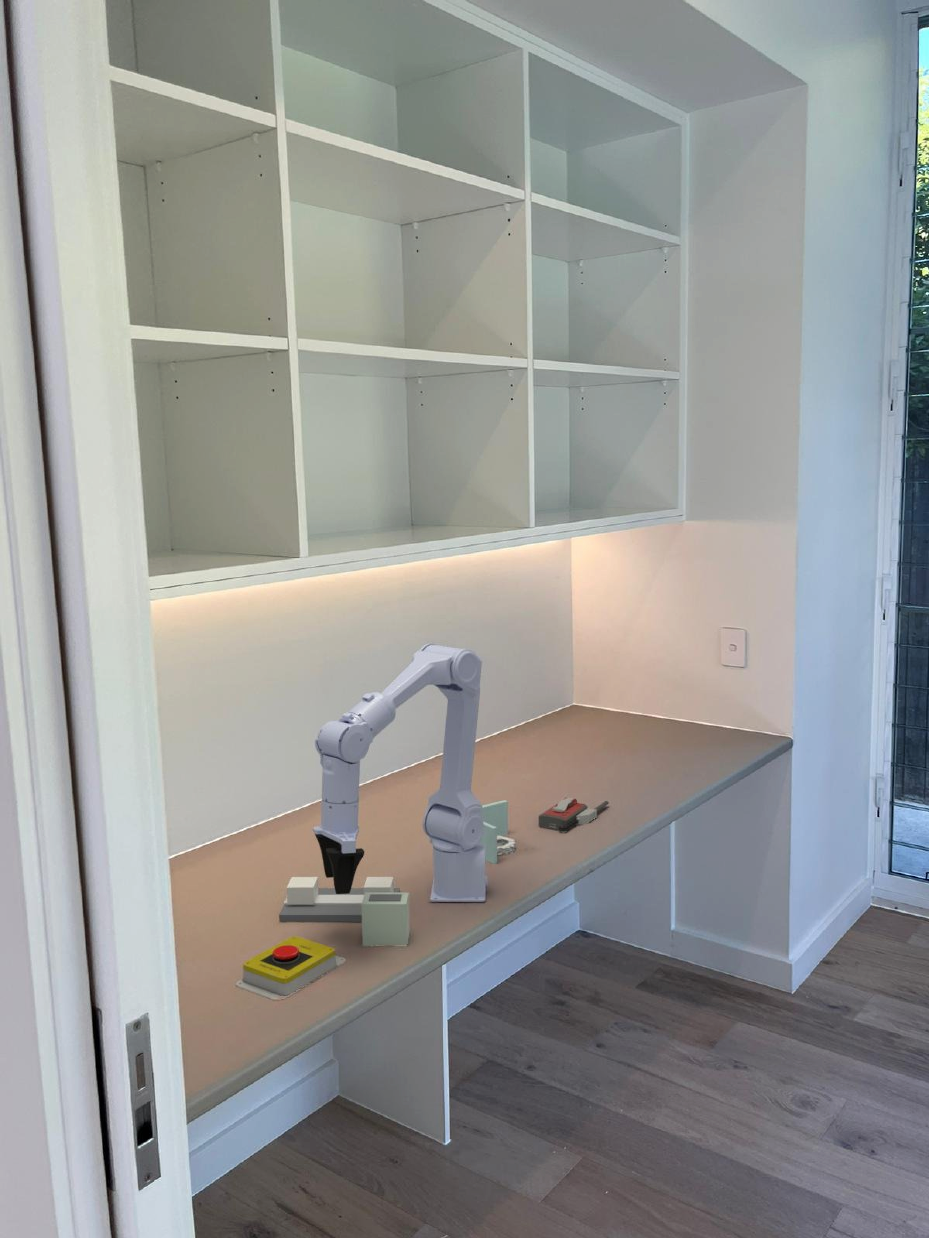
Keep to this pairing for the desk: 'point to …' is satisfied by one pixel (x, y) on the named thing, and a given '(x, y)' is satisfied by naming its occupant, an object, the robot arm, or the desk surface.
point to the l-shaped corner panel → (496, 831)
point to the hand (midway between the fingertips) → (337, 884)
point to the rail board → (328, 900)
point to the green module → (385, 918)
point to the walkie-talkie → (568, 815)
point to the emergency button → (287, 967)
